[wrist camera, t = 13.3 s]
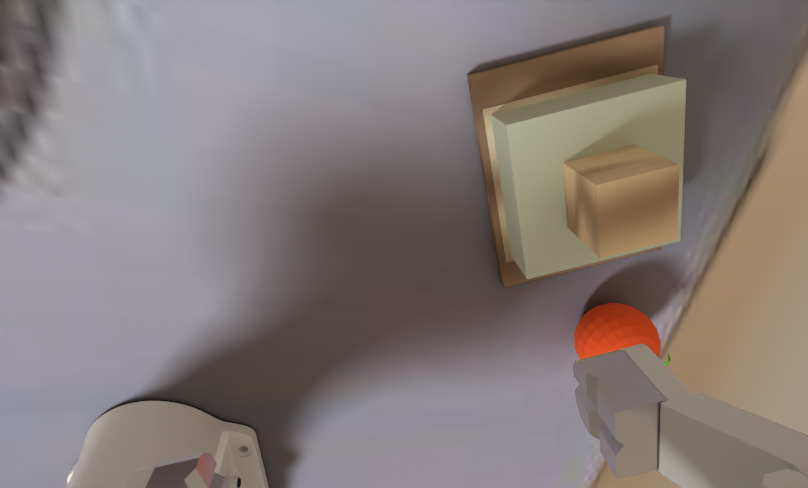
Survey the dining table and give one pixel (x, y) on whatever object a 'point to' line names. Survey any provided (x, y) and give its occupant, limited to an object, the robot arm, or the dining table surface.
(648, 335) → the clementine
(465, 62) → the dining table surface
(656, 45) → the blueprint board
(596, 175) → the oak cube
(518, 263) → the plinth block
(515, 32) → the dining table surface
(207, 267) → the dining table surface
